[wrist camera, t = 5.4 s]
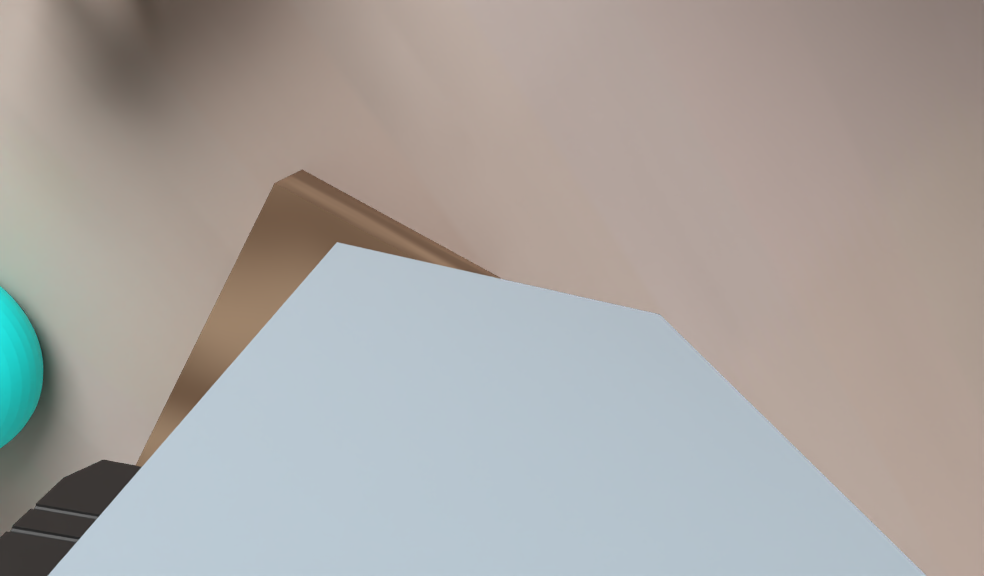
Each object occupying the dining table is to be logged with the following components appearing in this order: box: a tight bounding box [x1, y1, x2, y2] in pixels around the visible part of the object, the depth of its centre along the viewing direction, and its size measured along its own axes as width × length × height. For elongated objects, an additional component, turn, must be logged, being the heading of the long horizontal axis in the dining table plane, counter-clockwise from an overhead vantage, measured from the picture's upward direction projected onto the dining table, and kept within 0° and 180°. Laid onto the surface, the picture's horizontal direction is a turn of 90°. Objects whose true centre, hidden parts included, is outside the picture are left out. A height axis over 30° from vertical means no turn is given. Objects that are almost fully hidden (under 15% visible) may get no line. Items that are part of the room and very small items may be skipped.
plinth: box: [136, 170, 501, 467], centre depth 31 cm, size 16×10×5 cm, turn 150°
